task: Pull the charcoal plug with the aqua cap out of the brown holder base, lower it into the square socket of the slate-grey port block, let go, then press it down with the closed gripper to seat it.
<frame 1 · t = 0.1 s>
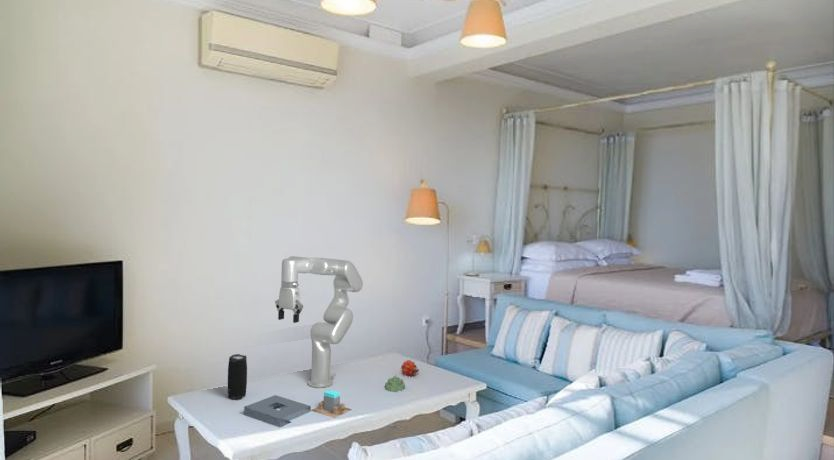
hand: (288, 320, 258), 37 cm above the table, tool pointing down, fingers open, 9 cm apart
brown holder base: (331, 412, 243), on the table
portable speaker: (236, 397, 257), on the table
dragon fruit: (409, 375, 300), on the table
decorative artifact: (394, 389, 277), on the table
port: (277, 414, 239), on the table
plug: (331, 409, 243), point 1 cm above the table, touching brown holder base
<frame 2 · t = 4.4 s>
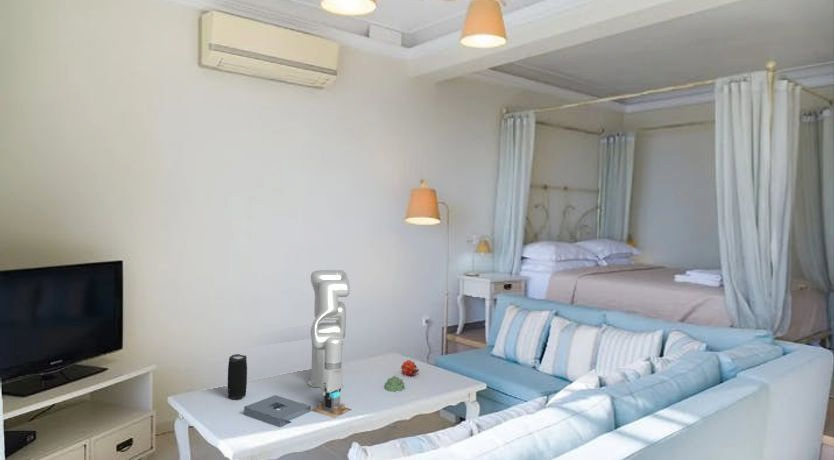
hand: (331, 405, 243), 3 cm above the table, tool pointing down, fingers closed on plug, 4 cm apart
plug: (331, 409, 243), point 1 cm above the table, touching gripper, brown holder base
everything else where it was.
when the fingers open (5 cm above the table, at t = 10.9 s): plug drops 2 cm, resting in port.
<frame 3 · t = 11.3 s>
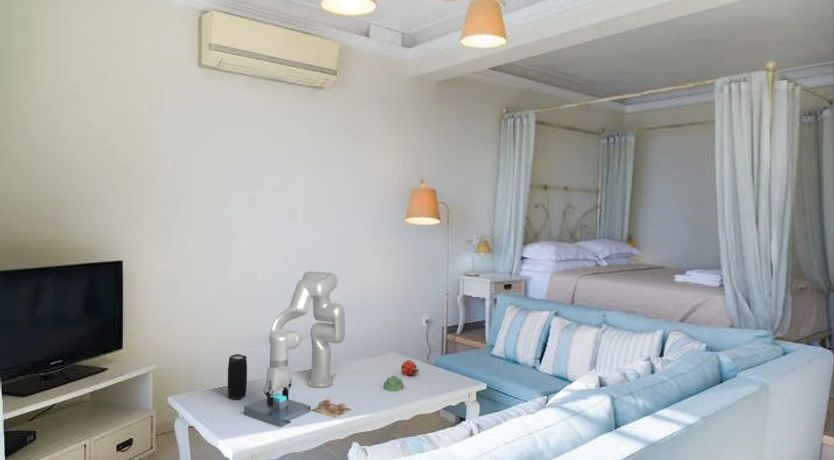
hand: (277, 402, 238), 5 cm above the table, tool pointing down, fingers open, 8 cm apart
plug: (277, 414, 239), resting in port
everything else where it was.
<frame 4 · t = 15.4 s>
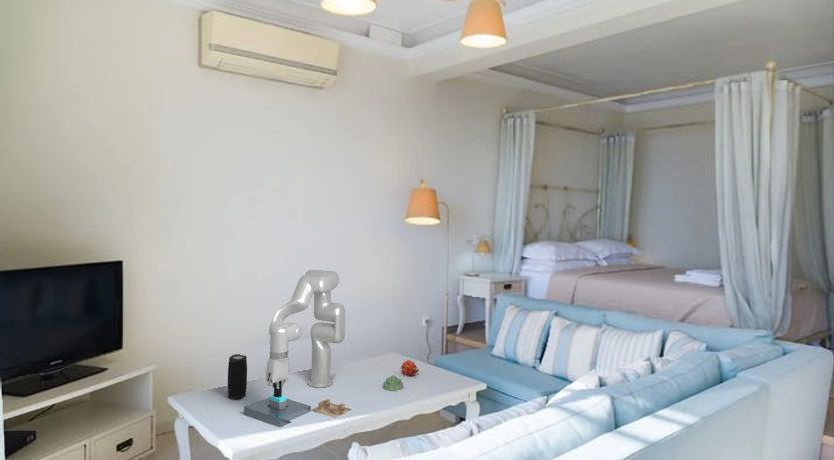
hand: (277, 396, 238), 8 cm above the table, tool pointing down, fingers closed
plug: (277, 414, 239), resting in port, touching gripper
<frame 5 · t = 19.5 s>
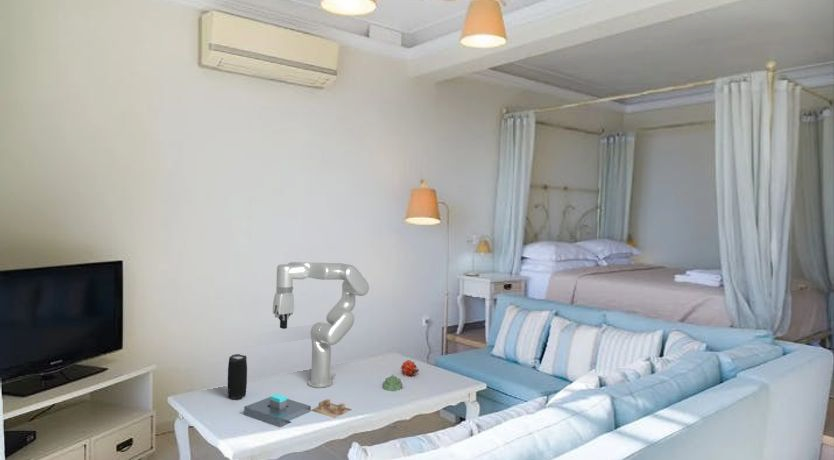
hand: (283, 328, 262), 32 cm above the table, tool pointing down, fingers closed
plug: (277, 414, 239), resting in port
at the end: plug 0.1 cm off-centre on the port, point 0.0 cm above the port's base; plug tilted 0°; the gripper is holding nothing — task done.
